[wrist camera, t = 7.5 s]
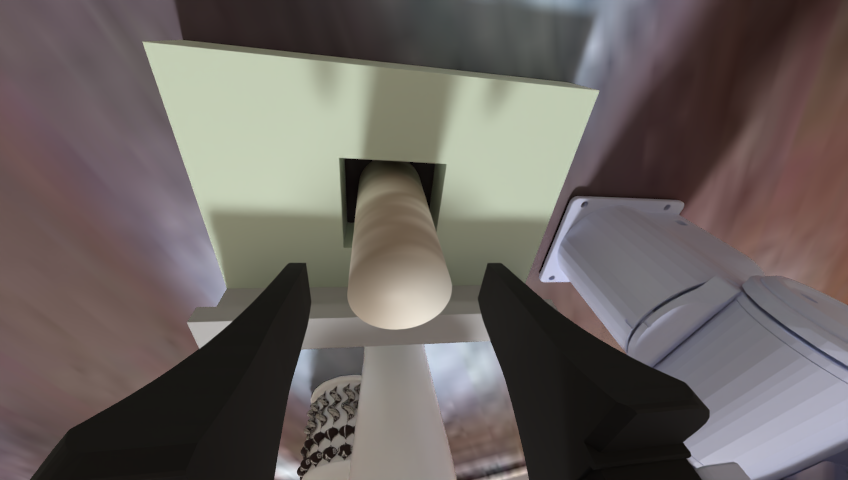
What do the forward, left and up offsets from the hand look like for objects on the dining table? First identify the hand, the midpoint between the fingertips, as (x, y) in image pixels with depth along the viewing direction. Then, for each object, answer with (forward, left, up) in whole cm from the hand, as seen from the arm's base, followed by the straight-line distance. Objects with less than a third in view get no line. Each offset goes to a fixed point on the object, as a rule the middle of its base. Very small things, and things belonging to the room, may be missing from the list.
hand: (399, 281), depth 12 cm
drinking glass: (-1, +15, -9) cm, 18 cm away
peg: (0, 0, -9) cm, 9 cm away
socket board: (0, 0, -9) cm, 9 cm away
